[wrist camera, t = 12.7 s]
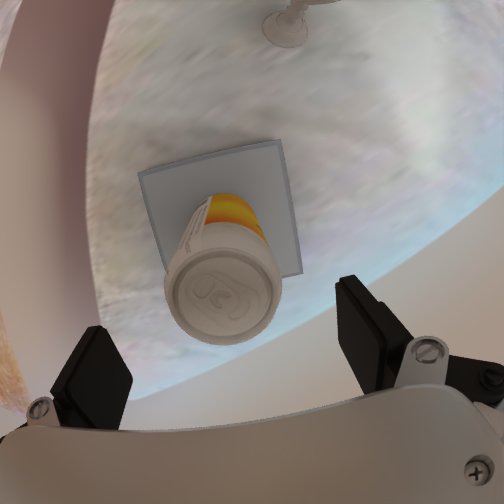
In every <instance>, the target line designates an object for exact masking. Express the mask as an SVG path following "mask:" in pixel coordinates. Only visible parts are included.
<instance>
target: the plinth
mask: <svg viewBox="0 0 504 504" xmlns="http://www.w3.org/2000/svg"><path fill="white" fill-rule="evenodd" d="M137 174H138V178H139V182H140V186H141V189H142V193H143V197H144V201H145V204H146V208H147V212H148V215H149V219H150V222H151V226H152V229H153V233H154V236H155V239H156V242H157V246H158V249H159V252H160V255H161V258H162V262H163V265H164V268H165V271H166V270H167V268H168V265H169V263H170V261H171V259H172V257H173V255H174V252H175V250H176V248H177V246H178V244H179V242H180V240H181V238H182V236H183V234H184V232H185V230H186V228H187V226H188V224H189V221H190V219H191V218H192V216H193V214H194V212H195V210H196V208H197V207H198V205H199V204H200V203H201V202H202V201H203V200H205V199H206V198H208V197H210V196H212V195H215V194H221V193H227V194H233V195H236V196H238V197H240V198H242V199H243V200H245V201H246V202H247V203H248V204H249V205H250V206H251V208H252V209H253V211H254V213H255V216H256V218H257V220H258V222H259V225H260V227H261V229H262V231H263V234H264V236H265V238H266V241H267V243H268V245H269V247H270V250H271V252H272V254H273V257H274V259H275V261H276V263H277V266H278V268H279V271H280V274H281V278H286V277H290V276H294V275H299V274H303V267H302V260H301V253H300V246H299V240H298V233H297V227H296V221H295V215H294V209H293V203H292V197H291V191H290V186H289V180H288V175H287V169H286V164H285V158H284V153H283V148H282V143H281V139H278V140H272V141H267V142H261V143H256V144H251V145H246V146H241V147H236V148H231V149H226V150H222V151H217V152H213V153H209V154H205V155H200V156H196V157H192V158H188V159H185V160H181V161H177V162H173V163H170V164H166V165H162V166H159V167H155V168H152V169H149V170H145V171H142V172H139V173H137Z"/></svg>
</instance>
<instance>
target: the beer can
mask: <svg viewBox="0 0 504 504" xmlns="http://www.w3.org/2000/svg"><path fill="white" fill-rule="evenodd" d="M164 292H165V297H166V301H167V303H168V306H169V308H170V311H171V314H172V316H173V318H174V319H175V321H176V322H177V324H178V325H179V326H180V327H181V328H182V329H183V330H184V331H185V332H186V333H187V334H189V335H190V336H192V337H194V338H195V339H197V340H200V341H202V342H205V343H209V344H214V345H233V344H238V343H242V342H245V341H247V340H249V339H252V338H253V337H255V336H257V335H258V334H259V333H261V332H262V331H263V330H264V329H265V328H266V327H267V326H268V324H269V323H270V322H271V320H272V318H273V316H274V314H275V312H276V309H277V307H278V305H279V302H280V299H281V294H282V279H281V274H280V271H279V268H278V266H277V263H276V261H275V259H274V257H273V254H272V252H271V250H270V247H269V245H268V243H267V241H266V238H265V236H264V234H263V231H262V229H261V227H260V225H259V222H258V220H257V218H256V216H255V213H254V211H253V209H252V208H251V206H250V205H249V204H248V203H247V202H246V201H245V200H243V199H242V198H240V197H238V196H236V195H233V194H227V193H221V194H215V195H212V196H210V197H208V198H206V199H205V200H203V201H202V202H201V203H200V204H199V205H198V207H197V208H196V210H195V212H194V214H193V216H192V218H191V219H190V221H189V224H188V226H187V228H186V230H185V232H184V234H183V236H182V238H181V240H180V242H179V244H178V246H177V248H176V250H175V252H174V255H173V257H172V259H171V261H170V263H169V265H168V268H167V270H166V274H165V279H164Z"/></svg>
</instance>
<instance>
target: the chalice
mask: <svg viewBox="0 0 504 504" xmlns="http://www.w3.org/2000/svg"><path fill="white" fill-rule="evenodd" d="M336 1H340V0H292V1H291V6H288V7H287V9H286V10H284V11H280V12H277V13H274V14H271V15H270V16H269V17H267V18H266V20H265V22H264V25H263V30H264V34H265V35H266V37H267V38H268V40H270V41H271V42H272V43H273V44H275V45H278V46H280V47H285V48H293V47H297V46H299V45H301V44H302V43H304V42H305V40H306V38H307V36H308V30H307V26H306V23H305V20H304V19H303V18H302V17H303V16H304V10H306V9H307V8H308V5H318V4H328V3H332V2H336Z"/></svg>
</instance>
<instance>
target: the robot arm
mask: <svg viewBox="0 0 504 504" xmlns="http://www.w3.org/2000/svg"><path fill="white" fill-rule="evenodd" d="M335 290H336V305H337V324H338V340H339V344H340V346H341V349H342V351H343V353H344V355H345V357H346V358H347V360H348V362H349V364H350V366H351V368H352V370H353V372H354V374H355V377H356V378H357V381H358V382H359V384H360V387H361V389H362V391H363V393H364V395H363V396H359V397H355V398H351V399H348V400H345V401H341V402H337V403H333V404H330V405H326V406H322V407H318V408H314V409H309V410H305V411H300V412H296V413H291V414H287V415H282V416H277V417H272V418H266V419H260V420H254V421H248V422H241V423H234V424H227V425H219V426H209V427H199V428H186V429H169V430H118V429H119V425H120V422H121V419H122V415H123V412H124V408H125V405H126V402H127V399H128V395H129V392H130V389H131V386H132V383H133V378H132V375H131V373H130V371H129V369H128V368H127V366H126V364H125V362H124V361H123V359H122V357H121V355H120V354H119V352H118V350H117V348H116V346H115V344H114V342H113V341H112V339H111V337H110V335H109V333H108V331H107V330H106V329H105V328H103V327H102V326H100V325H98V326H91V327H88V328H87V330H86V331H85V333H84V334H83V336H82V337H81V339H80V341H79V342H78V344H77V345H76V347H75V349H74V350H73V352H72V354H71V355H70V357H69V359H68V360H67V362H66V364H65V365H64V367H63V369H62V371H61V372H60V374H59V376H58V378H57V380H56V381H55V383H54V385H53V387H52V388H51V390H50V393H51V394H52V395H53V396H54V399H53V400H52V399H51V398H49V397H40V398H38V399H36V400H35V401H33V402H32V403H31V404H30V406H29V407H28V409H27V412H26V417H27V422H26V423H25V424H23V425H22V426H20V427H18V428H17V429H15V430H14V431H12V432H10V433H9V434H7V435H5V436H3V437H2V438H0V504H504V366H503V365H501V364H498V363H494V362H488V361H482V360H475V359H470V358H464V357H458V356H452V355H449V348H448V346H447V344H446V343H445V342H444V341H443V340H441V339H439V338H437V337H433V336H421V337H417V338H415V339H414V337H413V336H412V335H411V334H410V333H409V331H408V330H407V329H406V328H405V327H404V325H403V324H402V323H401V322H400V321H399V320H398V318H397V317H396V316H395V315H394V314H393V313H392V311H391V310H390V309H389V308H388V307H387V306H386V305H385V303H383V302H381V301H380V302H378V301H377V300H376V299H375V298H374V297H373V295H372V294H371V293H370V292H369V291H368V290H367V288H366V287H365V286H364V285H363V284H362V283H361V281H360V280H359V279H358V278H357V277H356V276H355V275H350V276H346V277H342V278H340V279H339V282H337V283H336V284H335Z"/></svg>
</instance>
